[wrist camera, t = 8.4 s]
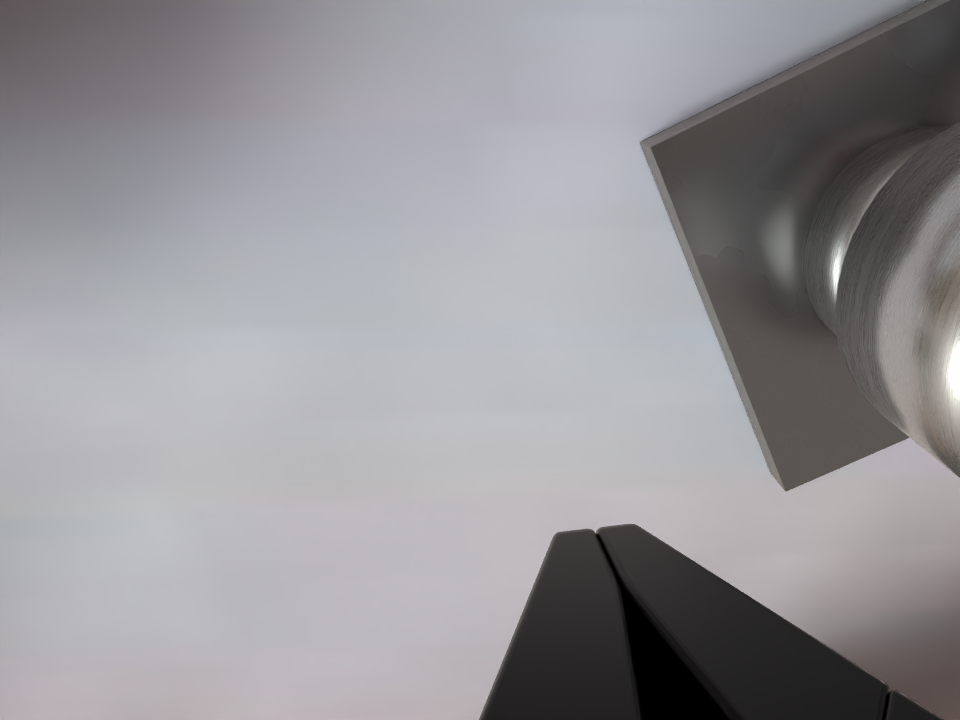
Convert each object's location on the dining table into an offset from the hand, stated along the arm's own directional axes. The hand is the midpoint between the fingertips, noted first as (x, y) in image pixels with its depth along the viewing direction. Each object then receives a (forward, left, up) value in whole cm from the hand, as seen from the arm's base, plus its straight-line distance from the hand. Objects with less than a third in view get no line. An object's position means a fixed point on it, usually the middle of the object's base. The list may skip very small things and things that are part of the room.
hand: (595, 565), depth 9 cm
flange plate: (-4, -9, -13) cm, 16 cm away
